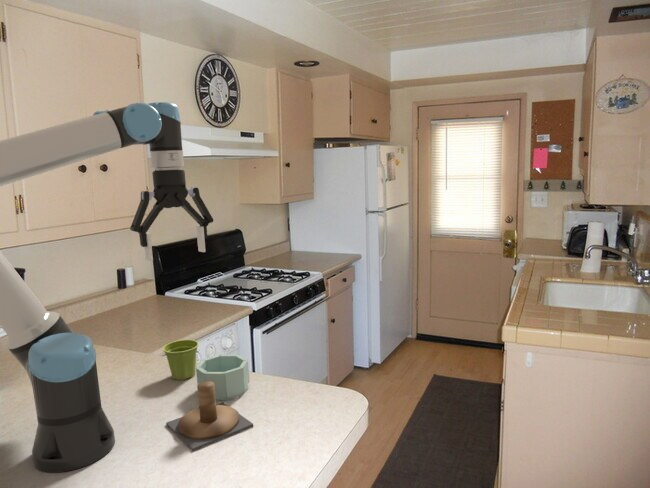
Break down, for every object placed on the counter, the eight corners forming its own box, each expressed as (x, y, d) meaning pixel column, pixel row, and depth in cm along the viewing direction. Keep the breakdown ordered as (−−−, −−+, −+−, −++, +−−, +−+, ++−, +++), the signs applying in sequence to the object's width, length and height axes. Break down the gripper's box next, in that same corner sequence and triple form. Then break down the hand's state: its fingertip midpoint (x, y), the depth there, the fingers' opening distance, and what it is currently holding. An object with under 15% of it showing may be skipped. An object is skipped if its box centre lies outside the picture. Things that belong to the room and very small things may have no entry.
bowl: (213, 405, 121) (211, 377, 120) (192, 389, 130) (189, 363, 129) (257, 389, 128) (255, 363, 127) (233, 375, 138) (231, 351, 137)
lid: (194, 446, 103) (190, 405, 101) (169, 422, 113) (165, 384, 111) (250, 423, 111) (247, 385, 109) (222, 403, 121) (219, 367, 119)
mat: (193, 451, 102) (192, 448, 102) (166, 425, 113) (166, 422, 113) (253, 426, 111) (253, 423, 111) (223, 404, 122) (222, 402, 121)
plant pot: (196, 382, 135) (193, 351, 133) (160, 383, 135) (157, 352, 133) (205, 368, 144) (202, 338, 142) (172, 369, 144) (169, 340, 143)
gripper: (120, 171, 112) (130, 265, 116) (222, 166, 128) (228, 249, 131) (110, 171, 118) (120, 261, 122) (208, 167, 133) (215, 246, 137)
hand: (176, 255), depth 126 cm, fingers open, 13 cm apart
